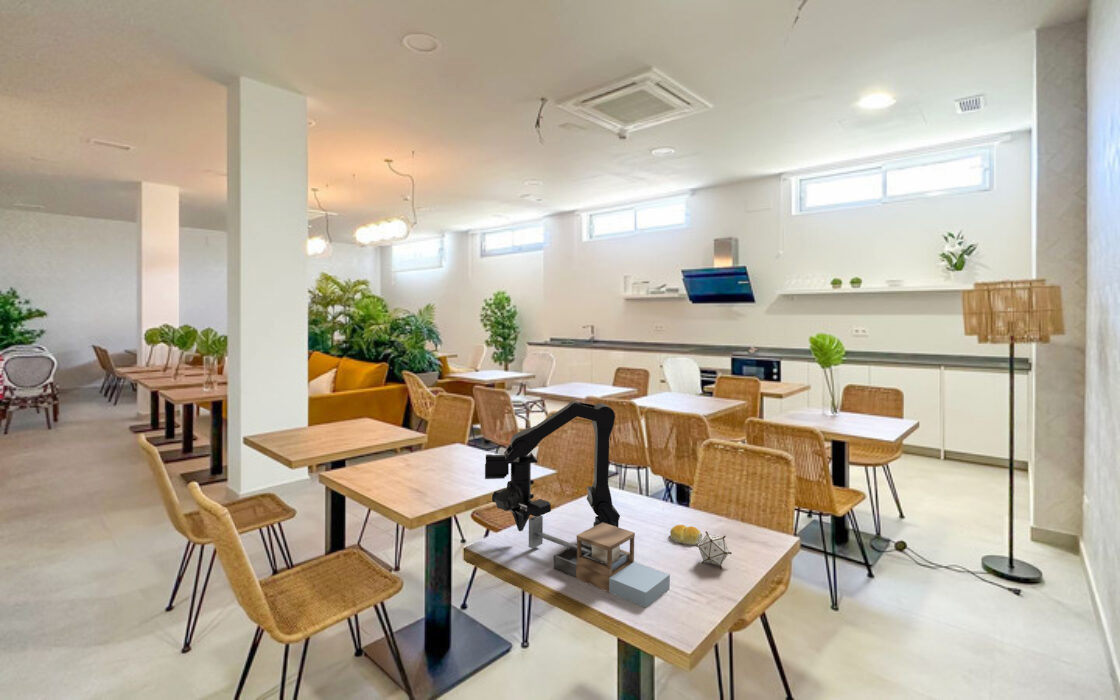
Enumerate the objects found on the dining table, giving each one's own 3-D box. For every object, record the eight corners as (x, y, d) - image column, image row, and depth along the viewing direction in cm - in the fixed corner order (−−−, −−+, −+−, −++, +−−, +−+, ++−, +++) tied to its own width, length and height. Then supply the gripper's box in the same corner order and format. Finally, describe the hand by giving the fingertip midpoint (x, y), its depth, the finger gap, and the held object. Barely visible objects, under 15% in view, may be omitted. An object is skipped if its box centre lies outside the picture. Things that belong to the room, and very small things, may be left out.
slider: (523, 549, 143) (523, 521, 142) (543, 539, 149) (543, 512, 149) (609, 584, 124) (609, 552, 124) (628, 572, 130) (628, 541, 130)
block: (591, 563, 129) (591, 544, 129) (603, 556, 133) (603, 537, 133) (607, 569, 126) (608, 550, 126) (619, 562, 130) (619, 543, 130)
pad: (609, 592, 123) (609, 577, 122) (634, 575, 131) (634, 561, 131) (645, 607, 116) (646, 592, 116) (669, 588, 124) (669, 574, 124)
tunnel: (553, 568, 134) (553, 527, 133) (579, 554, 142) (580, 515, 142) (609, 592, 123) (609, 547, 122) (634, 575, 131) (634, 532, 130)
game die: (713, 581, 135) (707, 560, 130) (693, 557, 142) (686, 537, 137) (740, 561, 137) (735, 540, 132) (718, 539, 144) (713, 518, 138)
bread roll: (675, 531, 159) (675, 518, 158) (704, 538, 154) (704, 525, 154) (665, 541, 152) (665, 527, 152) (695, 548, 147) (695, 534, 147)
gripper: (477, 477, 148) (477, 530, 149) (524, 491, 136) (524, 549, 137) (506, 469, 157) (505, 519, 158) (552, 481, 145) (551, 536, 145)
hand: (520, 530), depth 149 cm, fingers closed
